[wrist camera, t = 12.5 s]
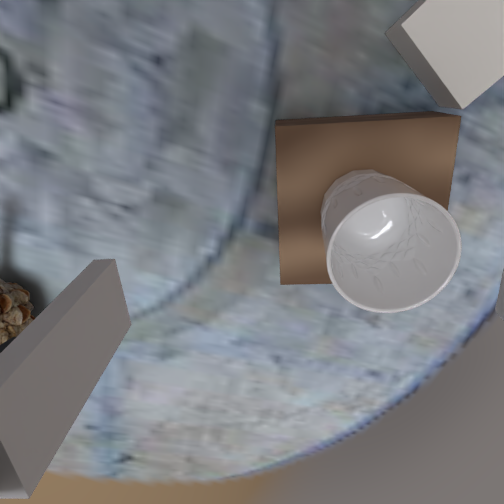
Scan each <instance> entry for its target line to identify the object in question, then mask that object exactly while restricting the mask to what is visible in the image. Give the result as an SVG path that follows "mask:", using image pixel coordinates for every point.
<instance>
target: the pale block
mask: <svg viewBox="0 0 504 504" xmlns="http://www.w3.org/2000/svg"><path fill="white" fill-rule="evenodd" d="M385 35H386V36H387V37H388V39H389V40H390V41H391V43H392V44H393V45H394V47H395V48H396V49H397V51H398V52H399V53H400V55H401V56H402V57H403V59H404V60H405V61H406V63H407V64H408V65H409V67H410V68H411V69H412V71H413V72H414V73H415V75H416V76H417V77H418V79H419V80H420V81H421V83H422V84H423V85H424V87H425V88H426V89H427V91H428V92H429V93H430V95H431V96H432V97H433V99H434V100H435V101H436V103H437V104H438V105H439V107H447V108H456V109H464V108H465V107H466V106H468V105H469V104H470V103H471V102H472V101H474V100H475V99H476V98H477V97H478V96H480V95H481V94H482V93H483V92H484V91H486V90H487V89H488V88H489V87H490V86H492V85H493V84H494V83H495V82H497V81H498V80H499V79H500V78H501V77H503V76H504V0H418V1H417V2H416V3H415V4H414V5H413V6H412V7H411V8H410V9H409V10H408V11H407V12H406V13H405V14H404V15H403V16H402V17H401V18H400V19H399V20H398V21H397V22H396V23H395V24H394V25H393V26H392V27H390V28H389V29H388V30H387V31H386V32H385Z"/></svg>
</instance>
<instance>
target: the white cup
mask: <svg viewBox="0 0 504 504" xmlns="http://www.w3.org/2000/svg"><path fill="white" fill-rule="evenodd" d="M320 213H321V218H322V219H321V227H322V238H323V244H324V250H325V256H326V263H327V270H328V274H329V277H330V279H331V282H332V284H333V285H334V287H335V288H336V290H337V291H338V292H339V293H340V295H341V296H342V297H344V298H345V299H346V300H347V301H349V302H350V303H352V304H353V305H355V306H357V307H359V308H362V309H365V310H368V311H372V312H378V313H395V312H401V311H406V310H409V309H412V308H415V307H418V306H420V305H422V304H424V303H426V302H427V301H429V300H431V299H432V298H433V297H435V296H436V295H437V294H438V293H440V292H441V291H442V290H443V289H444V288H445V286H446V285H447V284H448V283H449V281H450V280H451V279H452V277H453V275H454V274H455V272H456V269H457V267H458V264H459V261H460V257H461V248H462V245H461V236H460V232H459V229H458V226H457V224H456V222H455V220H454V219H453V217H452V216H451V215H450V213H449V212H448V211H447V210H446V209H445V208H444V207H442V206H441V205H440V204H438V203H437V202H435V201H433V200H432V199H430V198H428V197H427V196H425V195H423V194H422V193H420V192H418V191H417V190H415V189H414V188H412V187H410V186H409V185H407V184H405V183H403V182H401V181H399V180H397V179H395V178H393V177H391V176H388V175H385V174H383V173H381V172H378V171H376V170H373V169H367V170H353V171H351V172H349V173H347V174H345V175H344V176H342V177H340V178H338V179H336V180H335V181H334V183H333V184H332V185H331V186H330V188H329V189H328V190H327V192H326V193H325V194H324V198H323V202H322V207H321V211H320Z"/></svg>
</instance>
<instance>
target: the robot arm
mask: <svg viewBox="0 0 504 504" xmlns="http://www.w3.org/2000/svg"><path fill="white" fill-rule="evenodd" d="M495 312H496V313H497V314H498V315H499V316H500V317H501V318H502V319H503V320H504V270H503V274H502V279H501V284H500V289H499V294H498V299H497V304H496V309H495ZM130 326H131V321H130V317H129V313H128V309H127V305H126V301H125V297H124V293H123V289H122V285H121V281H120V277H119V273H118V269H117V265H116V261H115V259H101V260H93V261H92V262H91V263H90V264H89V265H88V266H87V267H86V268H85V269H84V270H83V271H82V272H81V273H80V274H79V275H78V276H77V277H76V278H75V279H74V280H73V281H72V282H71V283H70V284H69V285H68V286H67V287H66V288H65V289H64V290H63V291H62V292H61V293H60V294H59V295H58V296H57V297H56V298H55V299H54V300H53V301H52V302H51V303H50V304H49V305H48V306H47V307H46V308H45V309H44V310H43V311H42V312H41V313H40V314H39V315H38V316H37V317H36V318H35V319H34V320H33V321H32V322H31V323H30V324H29V325H28V326H27V327H26V328H25V329H24V330H23V331H22V332H21V333H20V334H19V335H18V336H17V337H12V338H11V339H9V340H7V341H6V342H4V343H3V344H1V345H0V498H22V499H23V498H25V499H27V498H28V499H29V498H30V496H31V495H32V493H33V491H34V490H35V488H36V486H37V484H38V483H39V481H40V479H41V478H42V476H43V474H44V472H45V471H46V469H47V467H48V466H49V464H50V462H51V461H52V459H53V457H54V455H55V454H56V452H57V450H58V449H59V447H60V445H61V444H62V442H63V440H64V438H65V437H66V435H67V433H68V432H69V430H70V428H71V427H72V425H73V423H74V421H75V420H76V418H77V416H78V415H79V413H80V411H81V409H82V408H83V406H84V404H85V403H86V401H87V399H88V398H89V396H90V394H91V392H92V391H93V389H94V387H95V386H96V384H97V382H98V381H99V379H100V377H101V375H102V374H103V372H104V370H105V369H106V367H107V365H108V363H109V362H110V360H111V358H112V357H113V355H114V353H115V352H116V350H117V348H118V346H119V345H120V343H121V341H122V340H123V338H124V336H125V335H126V333H127V331H128V329H129V328H130Z"/></svg>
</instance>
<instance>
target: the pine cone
mask: <svg viewBox="0 0 504 504" xmlns="http://www.w3.org/2000/svg"><path fill="white" fill-rule="evenodd" d="M29 300H30V292H28V291H27V290H24V289H22V286H20V285H18V284H17V283H11V282H8V283H6V282H4V281H3V280H2V279H1V278H0V345H1V344H3V343H4V342H6V341H7V340H9V339H11V338H12V337H17V336H18V335H19V334H20V333H21V332H22V331H23V330H24V329H25V328H26V327H27V326H28V325H29V324H30V323H31V322H32V321H33V320H34V319H35V317H34V316H33V315H30V313H31V311H32V310H33V308H34V306H33V305H32V304H31V303H30V302H28V301H29Z"/></svg>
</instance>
